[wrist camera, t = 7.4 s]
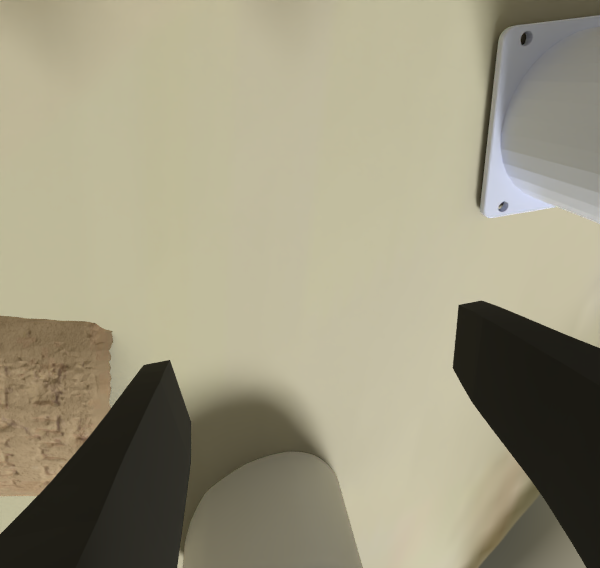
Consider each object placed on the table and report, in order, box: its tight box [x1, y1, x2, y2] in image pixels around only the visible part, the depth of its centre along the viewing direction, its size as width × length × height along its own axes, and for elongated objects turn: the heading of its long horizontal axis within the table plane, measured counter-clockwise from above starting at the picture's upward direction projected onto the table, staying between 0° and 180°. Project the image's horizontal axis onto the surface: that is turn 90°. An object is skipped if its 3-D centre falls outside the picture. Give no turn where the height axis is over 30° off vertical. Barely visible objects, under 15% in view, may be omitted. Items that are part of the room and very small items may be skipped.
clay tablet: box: [0, 316, 113, 496], centre depth 20 cm, size 14×10×3 cm
